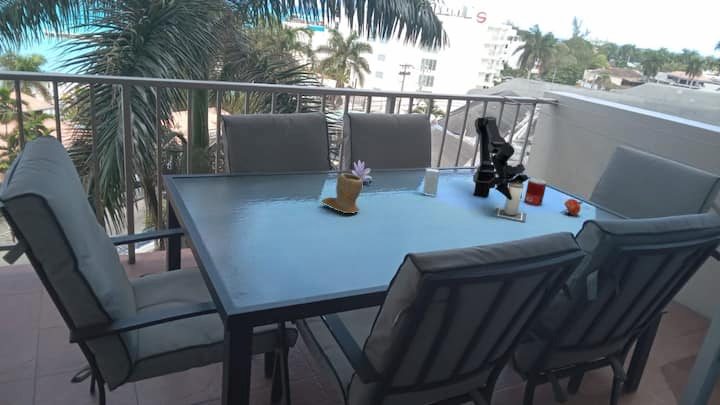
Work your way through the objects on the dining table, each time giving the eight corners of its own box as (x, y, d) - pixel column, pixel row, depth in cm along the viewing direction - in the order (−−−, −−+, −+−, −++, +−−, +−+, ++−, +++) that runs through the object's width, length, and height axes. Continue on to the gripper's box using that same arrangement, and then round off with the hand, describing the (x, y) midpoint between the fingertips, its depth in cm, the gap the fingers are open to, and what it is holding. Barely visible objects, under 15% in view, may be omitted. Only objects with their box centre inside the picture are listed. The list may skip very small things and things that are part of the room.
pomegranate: (564, 220, 213) (586, 211, 209) (556, 206, 213) (578, 196, 209) (564, 217, 220) (586, 208, 215) (556, 203, 220) (578, 194, 216)
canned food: (542, 206, 222) (547, 184, 219) (525, 204, 224) (529, 181, 220) (540, 201, 229) (545, 179, 226) (523, 199, 231) (527, 177, 227)
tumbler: (501, 211, 206) (506, 182, 202) (507, 209, 210) (513, 180, 206) (513, 216, 202) (519, 186, 198) (520, 213, 207) (526, 184, 202)
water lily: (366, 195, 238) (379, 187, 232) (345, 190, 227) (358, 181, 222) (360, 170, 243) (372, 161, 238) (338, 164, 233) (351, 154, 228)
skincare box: (435, 194, 227) (439, 169, 223) (436, 196, 223) (439, 172, 219) (422, 192, 227) (426, 168, 223) (423, 195, 223) (426, 170, 219)
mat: (493, 216, 204) (493, 215, 203) (495, 208, 214) (495, 207, 213) (525, 222, 200) (525, 221, 200) (526, 214, 210) (526, 213, 209)
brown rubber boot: (366, 212, 195) (369, 177, 190) (345, 218, 187) (348, 181, 182) (340, 201, 205) (343, 167, 200) (319, 206, 197) (321, 171, 192)
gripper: (498, 158, 197) (513, 192, 192) (529, 156, 206) (544, 188, 201) (481, 171, 206) (495, 204, 201) (512, 168, 215) (526, 200, 210)
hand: (515, 199), depth 203 cm, fingers closed on tumbler, 5 cm apart
